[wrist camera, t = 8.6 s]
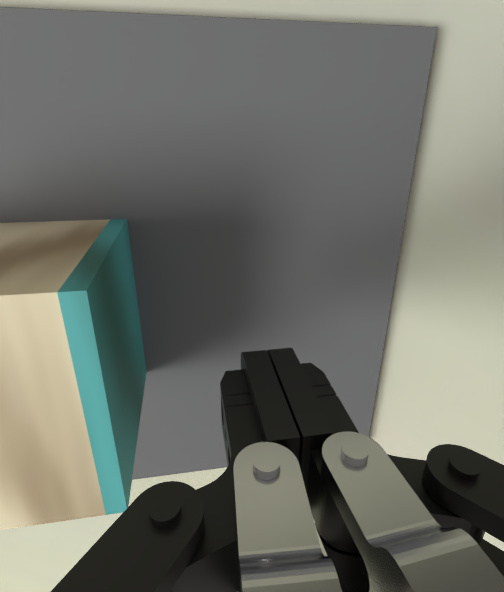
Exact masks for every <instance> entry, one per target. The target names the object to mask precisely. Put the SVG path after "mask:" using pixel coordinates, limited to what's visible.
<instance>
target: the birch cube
mask: <svg viewBox="0 0 504 592" xmlns="http://www.w3.org/2000/svg"><path fill="white" fill-rule="evenodd" d="M146 373H147V372H146V364H145V356H144V348H143V341H142V333H141V325H140V317H139V309H138V302H137V294H136V286H135V278H134V271H133V263H132V255H131V247H130V239H129V232H128V224H127V219H108V220H77V221H46V222H15V223H0V530H4V529H10V528H17V527H24V526H31V525H38V524H45V523H52V522H59V521H66V520H73V519H80V518H87V517H94V516H101V515H108V514H115V513H121V512H124V511H125V510H126V509H127V508H128V504H129V497H130V489H131V482H132V475H133V467H134V460H135V453H136V446H137V438H138V431H139V424H140V416H141V409H142V402H143V395H144V387H145V380H146Z"/></svg>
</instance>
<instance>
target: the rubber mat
mask: <svg viewBox="0 0 504 592" xmlns="http://www.w3.org/2000/svg"><path fill="white" fill-rule="evenodd" d="M436 29H437V27H422V26H400V25H379V24H357V23H335V22H314V21H292V20H271V19H249V18H227V17H206V16H184V15H163V14H141V13H120V12H98V11H76V10H55V9H33V8H12V7H0V223H15V222H46V221H77V220H108V219H127V224H128V232H129V239H130V247H131V255H132V263H133V271H134V278H135V286H136V294H137V302H138V309H139V317H140V325H141V333H142V341H143V348H144V356H145V364H146V372H147V373H146V380H145V387H144V395H143V402H142V409H141V416H140V424H139V431H138V438H137V446H136V453H135V460H134V467H133V475H132V480H133V479H141V478H148V477H156V476H163V475H171V474H178V473H186V472H193V471H201V470H209V469H216V468H224V467H228V465H227V458H226V450H225V444H224V437H223V430H222V418H221V391H220V382H221V380H222V378H223V376H224V374H225V371H230V370H241V352H248V351H260V350H266V351H267V350H270V349H281V348H292V349H293V350H294V352H295V354H296V356H297V358H298V360H299V362H300V364H301V363H312V364H314V365H315V366H316V367H318V368H319V369H320V370H322V371H323V372H324V373H325V375H326V377H327V379H328V380H329V382H330V384H331V386H332V387H333V389H334V391H335V392H336V396H338V398H339V399H340V401H341V403H342V404H343V406H344V408H345V410H346V411H347V413H348V415H349V416H350V418H351V420H352V422H353V423H354V425H355V427H356V428H357V430H358V432H359V433H360V434H363V435H366V436H368V437H369V433H370V427H371V421H372V415H373V409H374V403H375V397H376V391H377V385H378V379H379V373H380V367H381V361H382V355H383V349H384V343H385V337H386V331H387V325H388V319H389V313H390V307H391V300H392V294H393V288H394V282H395V276H396V270H397V264H398V258H399V252H400V246H401V240H402V234H403V228H404V222H405V216H406V210H407V204H408V198H409V192H410V186H411V180H412V174H413V168H414V162H415V156H416V150H417V144H418V138H419V132H420V126H421V120H422V114H423V107H424V101H425V95H426V89H427V83H428V77H429V71H430V65H431V59H432V53H433V47H434V41H435V35H436Z"/></svg>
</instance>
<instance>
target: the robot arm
mask: <svg viewBox="0 0 504 592" xmlns="http://www.w3.org/2000/svg"><path fill="white" fill-rule="evenodd" d="M220 391H221V418H222V430H223V437H224V444H225V450H226V458H227V465H228V467H227V469H226V470H225V472H224V473H223V474H222V475H221V476H220V477H219V478H218V479H216V480H215V481H213V482H212V483H210V484H208V485H206V486H204V487H201V488H199V489H197V490H195V489H194V488H193V487H191V486H190V485H188V484H185V483H182V482H175V481H170V482H163V483H159V484H157V485H154V486H152V487H150V488H148V489H147V490H145V491H144V492H143V493H141V494H140V495H139V496H138V497H137V498H136V499H135V500H134V502H133V503H132V504H131V505H130V506H129V507H128V508H127V509H126V510H125V511H124V512H123V514H122V515H121V516H120V517H119V518H118V519H117V520H116V521H115V522H114V523H113V524H112V526H111V527H110V528H109V529H108V530H107V531H106V532H105V533H104V534H103V535H102V536H101V537H100V539H99V540H98V541H97V542H96V543H95V544H94V545H93V546H92V547H91V548H90V549H89V551H88V552H87V553H86V554H85V555H84V556H83V557H82V558H81V559H80V560H79V561H78V563H77V564H76V565H75V566H74V567H73V568H72V569H71V570H70V571H69V572H68V573H67V575H66V576H65V577H64V578H63V579H62V580H61V581H60V582H59V583H58V584H57V585H56V587H55V588H54V589H53V590H52V591H51V592H504V551H502V550H500V549H499V548H497V547H495V546H494V545H492V544H490V543H489V542H487V541H485V540H484V539H482V538H483V536H484V533H485V532H487V533H488V534H490V535H492V536H494V537H495V538H497V539H499V540H500V541H502V542H504V465H502V464H500V463H498V462H496V461H494V460H491V459H489V458H487V457H485V456H483V455H481V454H479V453H477V452H475V451H473V450H470V449H468V448H465V447H462V446H458V445H451V444H444V445H439V446H436V447H434V448H433V449H431V450H430V452H429V453H428V456H427V460H426V461H425V460H417V459H410V458H402V457H396V456H392V455H388V454H386V452H385V451H384V449H383V448H382V447H381V446H380V445H379V444H378V443H377V442H376V441H374V440H373V439H372V438H370V437H368V436H366V435H363V434H360V433H359V432H358V430H357V428H356V427H355V425H354V423H353V422H352V420H351V418H350V416H349V415H348V413H347V411H346V410H345V408H344V406H343V404H342V403H341V401H340V399H339V398H338V396H336V392H335V391H334V389H333V387H332V386H331V384H330V382H329V380H328V379H327V377H326V375H325V373H324V372H323V371H322V370H320V369H319V368H318V367H316V366H315V365H314V364H312V363H301V364H300V362H299V360H298V358H297V356H296V354H295V352H294V350H293V349H292V348H281V349H270V350H267V351H266V350H260V351H248V352H241V370H230V371H225V374H224V376H223V378H222V380H221V382H220ZM313 519H314V520H313ZM314 522H315V523H314Z"/></svg>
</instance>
